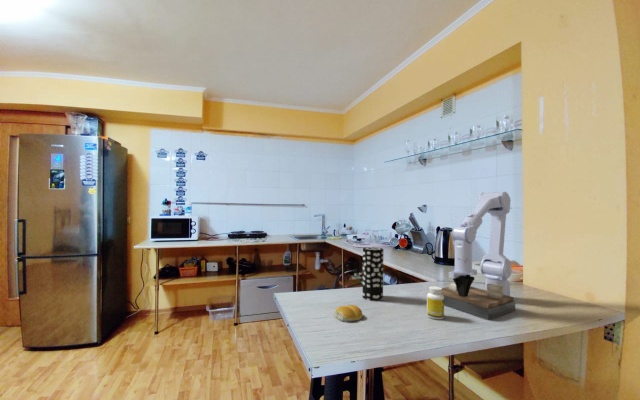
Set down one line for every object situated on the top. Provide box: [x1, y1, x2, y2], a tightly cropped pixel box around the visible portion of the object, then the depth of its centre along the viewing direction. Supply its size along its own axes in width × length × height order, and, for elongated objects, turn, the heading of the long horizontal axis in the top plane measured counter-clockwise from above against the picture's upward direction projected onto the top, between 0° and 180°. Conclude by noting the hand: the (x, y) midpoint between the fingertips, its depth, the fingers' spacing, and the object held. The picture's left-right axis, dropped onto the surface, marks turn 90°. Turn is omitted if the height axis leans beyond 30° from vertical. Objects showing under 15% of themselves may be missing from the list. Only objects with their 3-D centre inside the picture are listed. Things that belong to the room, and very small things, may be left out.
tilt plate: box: [441, 282, 515, 308], centre depth 107 cm, size 17×20×5 cm
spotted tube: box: [361, 247, 384, 302], centre depth 115 cm, size 8×8×20 cm
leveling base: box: [443, 295, 516, 321], centre depth 106 cm, size 18×21×4 cm
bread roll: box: [334, 304, 363, 323], centre depth 94 cm, size 8×9×4 cm
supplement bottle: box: [426, 285, 445, 320], centre depth 95 cm, size 5×5×10 cm
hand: (463, 295), depth 103 cm, fingers closed on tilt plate
